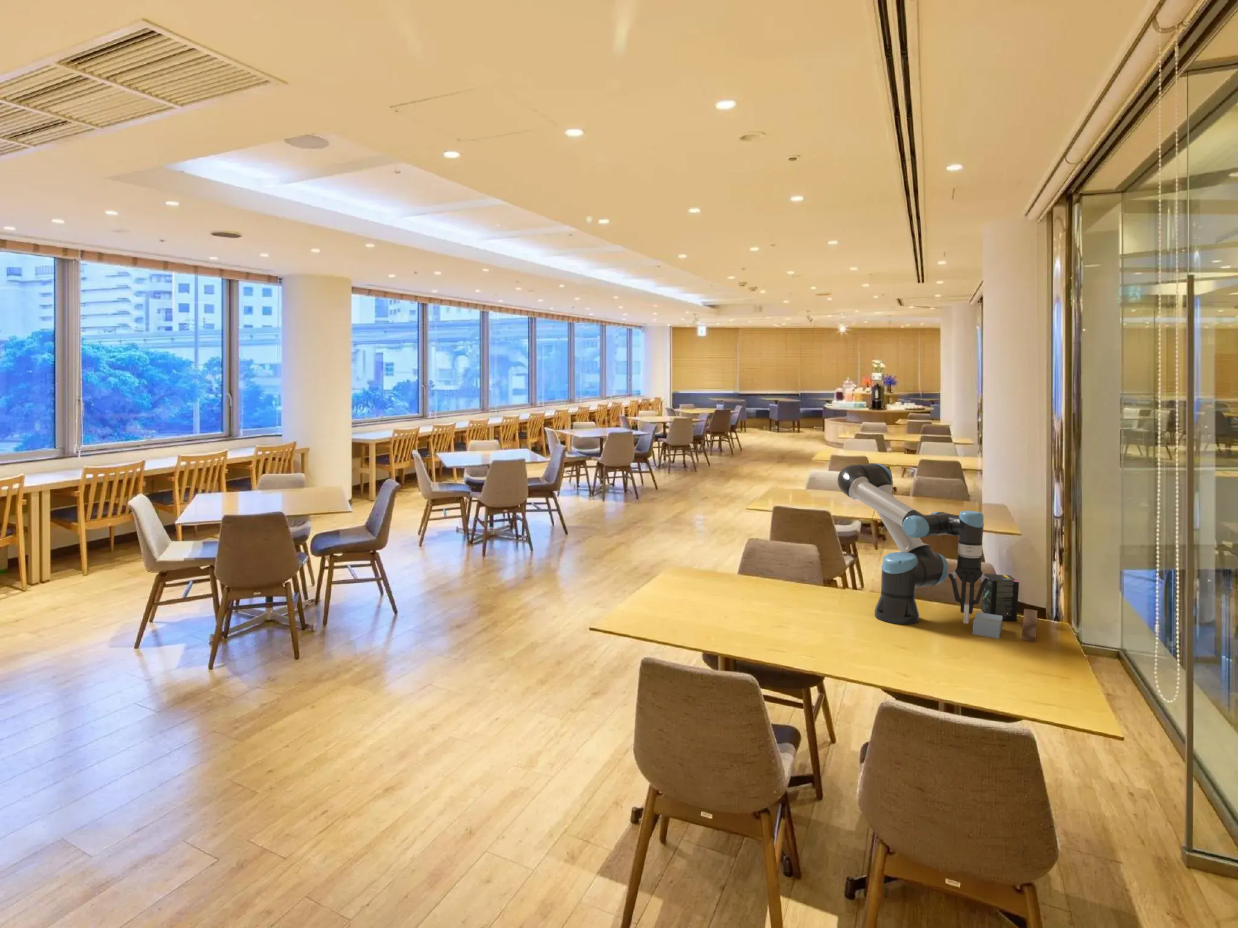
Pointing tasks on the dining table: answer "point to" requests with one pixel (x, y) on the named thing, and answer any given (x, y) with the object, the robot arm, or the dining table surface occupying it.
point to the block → (987, 625)
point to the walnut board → (1029, 625)
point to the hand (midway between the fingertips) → (966, 622)
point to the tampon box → (1001, 596)
